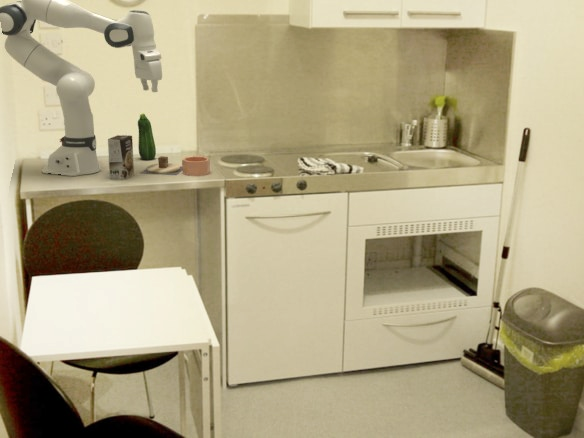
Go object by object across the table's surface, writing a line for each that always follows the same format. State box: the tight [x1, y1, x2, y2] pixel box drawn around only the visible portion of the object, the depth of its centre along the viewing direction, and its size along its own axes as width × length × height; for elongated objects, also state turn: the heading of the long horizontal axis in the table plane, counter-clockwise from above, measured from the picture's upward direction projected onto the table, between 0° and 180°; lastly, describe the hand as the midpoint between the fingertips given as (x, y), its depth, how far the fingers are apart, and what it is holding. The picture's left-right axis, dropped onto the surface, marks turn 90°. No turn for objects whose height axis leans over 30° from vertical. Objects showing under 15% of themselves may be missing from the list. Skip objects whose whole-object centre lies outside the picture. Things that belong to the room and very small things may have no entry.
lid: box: [146, 156, 180, 175], centre depth 299 cm, size 13×13×5 cm
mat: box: [139, 165, 182, 176], centre depth 300 cm, size 15×15×1 cm
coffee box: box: [107, 134, 135, 181], centre depth 286 cm, size 9×6×16 cm
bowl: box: [181, 155, 211, 177], centre depth 295 cm, size 10×10×6 cm
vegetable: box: [137, 113, 157, 161], centre depth 317 cm, size 7×7×20 cm
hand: (150, 91), depth 287 cm, fingers open, 8 cm apart
